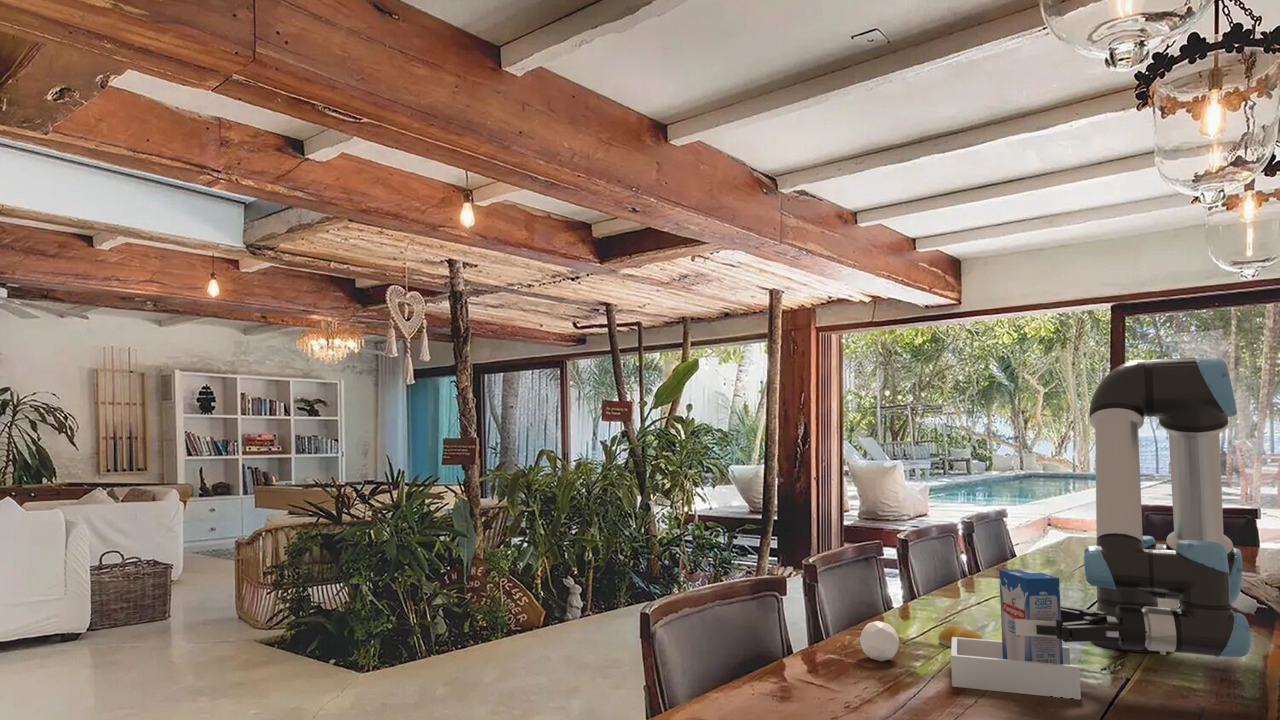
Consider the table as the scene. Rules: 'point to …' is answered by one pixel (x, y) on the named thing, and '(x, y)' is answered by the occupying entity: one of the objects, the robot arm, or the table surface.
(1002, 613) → the milk carton
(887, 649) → the geometric ball
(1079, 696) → the plastic channel
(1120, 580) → the robot arm
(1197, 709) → the table surface
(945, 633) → the bread roll
